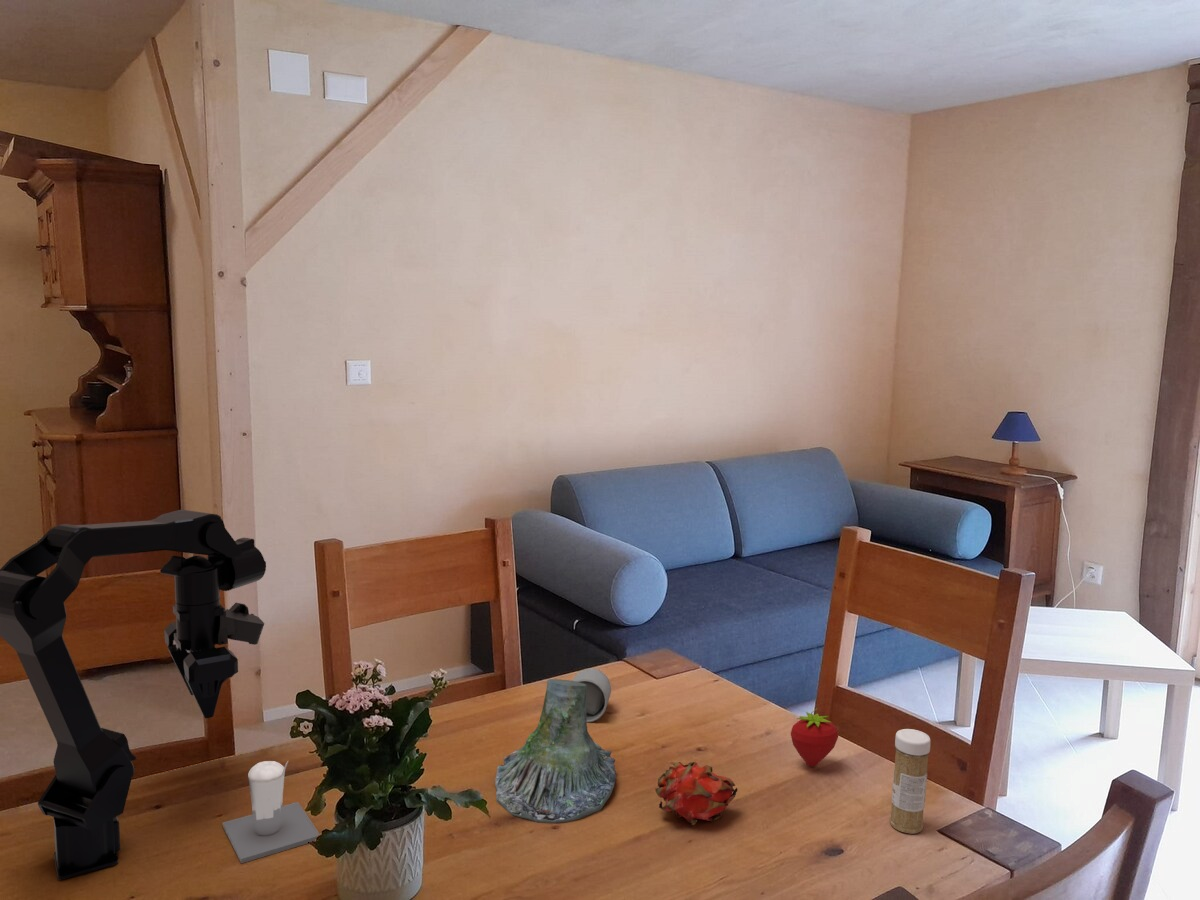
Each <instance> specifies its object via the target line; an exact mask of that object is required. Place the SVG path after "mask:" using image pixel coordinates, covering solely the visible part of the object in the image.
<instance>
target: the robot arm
mask: <svg viewBox="0 0 1200 900" xmlns="http://www.w3.org/2000/svg"><path fill="white" fill-rule="evenodd" d="M159 551H160V552H161V551H168V552H178V553H185V554H193V555H192V556H189V557H183V556H179V555H171V557H170V558H169V561H167V562H166V563H165V564H164V565H163V566H162V567H161V568H160V570H159V573H160V574H162V575H168V576H173V577H174V596H175V598H174V599H175V604H173V605H172V613H173V614H174V616H175V621H174V622H170V623H168V625H167V626H166V627H165V628H164V630H163V631H164V642H165V645H166V647H167V648H166V649H167V650H168V652H169V654H170V656H171V658H172V660H173V662H174V664H175V666H176V668H177V669H178V672H179V674H180V676H181V678H182V680H183V682H184V683H185V686H186V688H187V690H188V692H189V693H190V694H189V695H191V696H193V697H194V699H195V701H196V703H197V704H198V707H199V709H200V712H201V713H202V716H203V717H204V719H211V718H213V717H214V715H215V711H216V708H217V703H218V700H219V698H220V692H221V690H222V686H223V684H224V683H225V682H226V681H227V680H228V679H230V678H232V677H234V676H235V675H236V674H238V672H239V659H238V658H237V656H236V655H235V654H234V652H233V651H232V650H231V649H229V648H227V647H226V646H222V645H228V644H229V640H232V641H238V642H245V643H248V644H249V645H253V646H255V645H258V643H259V640H260V637H261V635H262V631H263V629H264V625H265V622H264V621H263V620H262V619H261V618H260V617H259V616H257V615H255V614H254V613H249V607H248V606H247V605H246V604H245V603H241V602H234V604H233V605H232V606H231V607H229V609H226V608H225V607H223V605H222V604H221V594H220V592H221V591H223V592H228V591H232V590H234V589H237V588H240V587H244V586H246V585H250V584H253V583H255V582H258V581H260V580H261V579H262V578H263V577H264V575H265V574H266V571H267V562H266V561H265V558H264V555H263V554H262V552H261V551H260V549H258V547H256V546H255V539H254V538H249V537H241V538H238V539H236V540H235V538H233V536H232V535H231V534H230V532H229V531H228V530H227V528H226V527H225V523H224V520H223V519H222V516H221V515H220V514H216V513H209V512H201V511H195V510H189V509H178V510H174V511H171V512H170V511H169V512H166V513H163V514H160V515H158V516H157V517H156V518H154V519H153V518H152V519H149V520H141V521H140V520H138V521H124V522H123V521H122V522H121V521H119V522H106V523H92V524H91V523H90V524H77V525H76V524H69V523H64V524H63V523H62V524H58V525H56V526H53V527H52V528H50V529H49V530H48V531H47V532H46V533H45V534H44V535H43V536H42V537H41V538H40V539H39V540H38V541H36V542H35V543H33V544H32V545H30V546H29V547H27V548H25V549H24V550H23V551H20V552H19V553H17V554H15V555H14V556H13V557H11V558H10V559H9V560H7V562H5V564H4V565H2V567H1V568H0V638H2V639H3V640H4V641H5V642H6V643H7V644H9V646H10V647H12V648H13V649H14V650H15V653H17V656H18V659H19V661H20V664H21V665H22V667H23V669H24V672H25V674H26V676H27V679H28V680H29V683H30V685H31V689H32V690H33V692H34V694H35V696H36V699H37V701H38V703H39V705H40V707H41V710H42V711H43V714H44V716H45V719H46V721H47V723H48V726H49V727H50V730H51V732H52V734H53V736H54V738H55V740H56V743H57V746H56V749H55V753H54V758H53V765H54V766H53V767H54V772H55V775H54V777H53V778H52V780H51V782H50V783H49V785H48V786H47V787H46V789H45V790H44V792H43V794H42V795H41V796H40V798H39V800H38V801H37V805H38V807H39V809H40V811H41V813H42V815H44V816H49V817H53V828H54V829H53V830H54V831H53V832H54V846H55V848H54V849H55V851H54V852H53V857H54V864H55V869H56V875H57V879H58V880H60V881H61V880H62V881H63V880H65V879H69V878H73V877H76V876H80V875H83V874H86V873H90V872H93V871H97V870H100V869H104V868H108V867H112V866H115V865H116V864H118V863H119V857H118V853H119V852H121V835H120V833H121V832H120V820H119V818H118V817H119V816H121V815H122V814H123V813H124V811H125V806H126V803H127V799H128V794H129V790H130V786H131V783H132V779H133V777H134V775H135V768H134V763H133V761H135V760H136V759H137V757H136V756H135V755H134V754H133V753H132V751H131V750H130V746H129V741H128V738H127V736H126V734H124V733H123V732H119V731H114V730H111V729H107V728H104V727H101V725H100V723H99V721H98V718H97V716H96V713H95V711H94V708H93V706H92V704H91V701H90V699H89V697H88V694H87V692H86V689H85V687H84V685H83V683H82V680H81V677H80V675H79V672H78V671H77V668H76V665H75V664H74V661H73V659H72V656H71V654H70V652H69V651H70V650H69V649H68V647H67V644H66V642H65V640H64V635H63V632H64V629H65V625H66V620H67V616H68V615H67V614H68V613H67V609H66V604H65V601H66V600H67V599H68V598H69V597H70V596H71V594H72V593H74V591H75V590H76V589H77V587H78V586H79V583H80V581H81V577H82V575H83V572H84V569H85V566H86V565H87V564H88V562H90V560H91V559H92V558H99V557H100V558H101V557H109V556H119V555H121V556H122V555H129V554H140V553H148V552H149V553H150V552H159ZM201 555H203V556H201ZM204 556H207V557H204ZM55 564H56V565H55ZM54 565H55V567H54V569H52V571H51V572H50V573H49V574H48V575H47V576H46V577H45V576H39V575H40V574H41V573H43V572H45V571H46V570H48V569H49V568H50V567H52V566H54ZM220 590H221V591H220ZM216 645H218V646H219V647H216ZM220 646H221V647H220Z"/></svg>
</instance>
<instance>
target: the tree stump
mask: <svg viewBox="0 0 1200 900" xmlns="http://www.w3.org/2000/svg"><path fill="white" fill-rule="evenodd" d="M546 682H547V684H546V689H545V690H546V691H545V693H544V694H545V696H544V699H543V705H542V709H541V714H540V718H539V721H538V724H537V727H536V728H535V729H534V730H533V731H532V732H531V733H530V734H529V736H528V738H527V739H526V740H525V743H524V744H523V746H522V747H521V748H519V749H516V750H514V752H510V754H509V753H508V755H506V756H505V757H503V758H502V759H503V764H501V765H498V766H497V768H496V775H495V780H494V783H495V790H496V792H495V801H496V802H497V803H498V804H499V805H500V806H501V807H502V808H504V810H506V812H508V813H509V814H510V815H511V816H513V817H514V816H515V817H518V818H521V819H526V820H529V821H532V822H536V823H545V824H546V823H547V824H548V823H549V824H560V823H563V824H564V823H568V822H574V821H578V820H581V819H583V818H586V817H588V816H590V815H593V814H595V813H598V812H600V811H602V808H603V807H604V806H605V804H606V803H607V801H608V800H609V798H610V797H611V796H612V792H613V790H614V788H615V782H616V778H617V776H616V774H617V771H616V770H615V768H616V767H615V766H616V765H615V762H616V759H615V758H614V757H611V754H612V750H605V749H603V748H602V747H601V745H599V744H598V743H596V742H595V741H594V739H593V737H591V735H590V734H589V731H588V722H587V715H586V693H587V685H586V684H584V683H580V682H576V681H572V680H570V679H560V678H559V679H557V678H550V679H547V681H546ZM546 811H548V812H546Z"/></svg>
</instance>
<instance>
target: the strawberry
mask: <svg viewBox="0 0 1200 900" xmlns="http://www.w3.org/2000/svg"><path fill="white" fill-rule="evenodd" d="M817 710H818V708H815V709H814V710H813V711H812V712H808V711H805V713H806V715H807V716H801V715H800V716H799V717H797V718H796V720H797V721H796V723H794V724H793V725H792V727H791V731H790V736H791V737H790V738H791V741H792V745H793V747H794V748H795V750H796V751H797V753H798V755H799V756H800V757H801V759H802V760H803V761H804V762H805V763H806V765H807V766H808V767H811V768H813V767H816V766H818V764H819V763H820V762H822V761H823V759H825V758H826V757H827V756H828V755H829V754H830V753H831V751H833V749H834V748H835V746H836V744H837V741H838V738H839V733H838V728H837V727H836V725H834V723H833V722H832V721H830V720H827V718H829V717H830V716H829V715H819V713H816V714H813V713H814V712H815V711H817Z"/></svg>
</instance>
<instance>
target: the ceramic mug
mask: <svg viewBox="0 0 1200 900" xmlns="http://www.w3.org/2000/svg"><path fill="white" fill-rule="evenodd" d="M571 681H576V682H580V683H584V684H586V685H587V693H586V715H587V723H591V722H595V721H597V720H598V719H600V718H601V717H602V716H603V715H604V714H605V712H606V709H607V706H608V705H609V704H608V703H609V700H610V698H611V693H612V685H611V682H610V681H611V680H610V678H609V677H608V675H606V673H605V672H603V671H602V670H600V669H597V668H592V667H591V668H589V667H588V668H584V669H582V670H581V671H579V672H578V673H577V674H575V676H574V677H573V678H572V679H571Z"/></svg>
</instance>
